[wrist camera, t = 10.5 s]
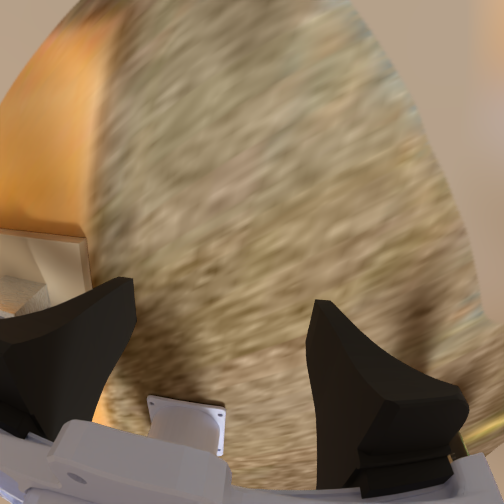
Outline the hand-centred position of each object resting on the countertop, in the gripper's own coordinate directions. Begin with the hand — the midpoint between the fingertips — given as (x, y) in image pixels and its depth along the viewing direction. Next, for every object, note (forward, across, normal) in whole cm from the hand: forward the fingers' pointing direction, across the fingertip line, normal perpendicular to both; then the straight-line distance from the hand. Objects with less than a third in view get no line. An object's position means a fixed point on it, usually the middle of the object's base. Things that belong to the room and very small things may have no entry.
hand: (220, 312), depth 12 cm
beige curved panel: (+10, +19, +9) cm, 23 cm away
